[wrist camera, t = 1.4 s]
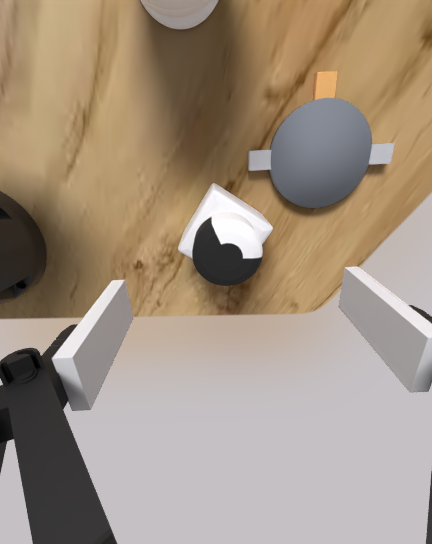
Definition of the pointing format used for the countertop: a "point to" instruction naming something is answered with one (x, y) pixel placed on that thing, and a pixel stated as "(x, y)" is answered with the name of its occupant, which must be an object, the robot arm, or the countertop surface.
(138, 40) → the countertop surface
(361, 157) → the pad
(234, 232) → the medicine bottle
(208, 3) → the jar
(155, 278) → the countertop surface
